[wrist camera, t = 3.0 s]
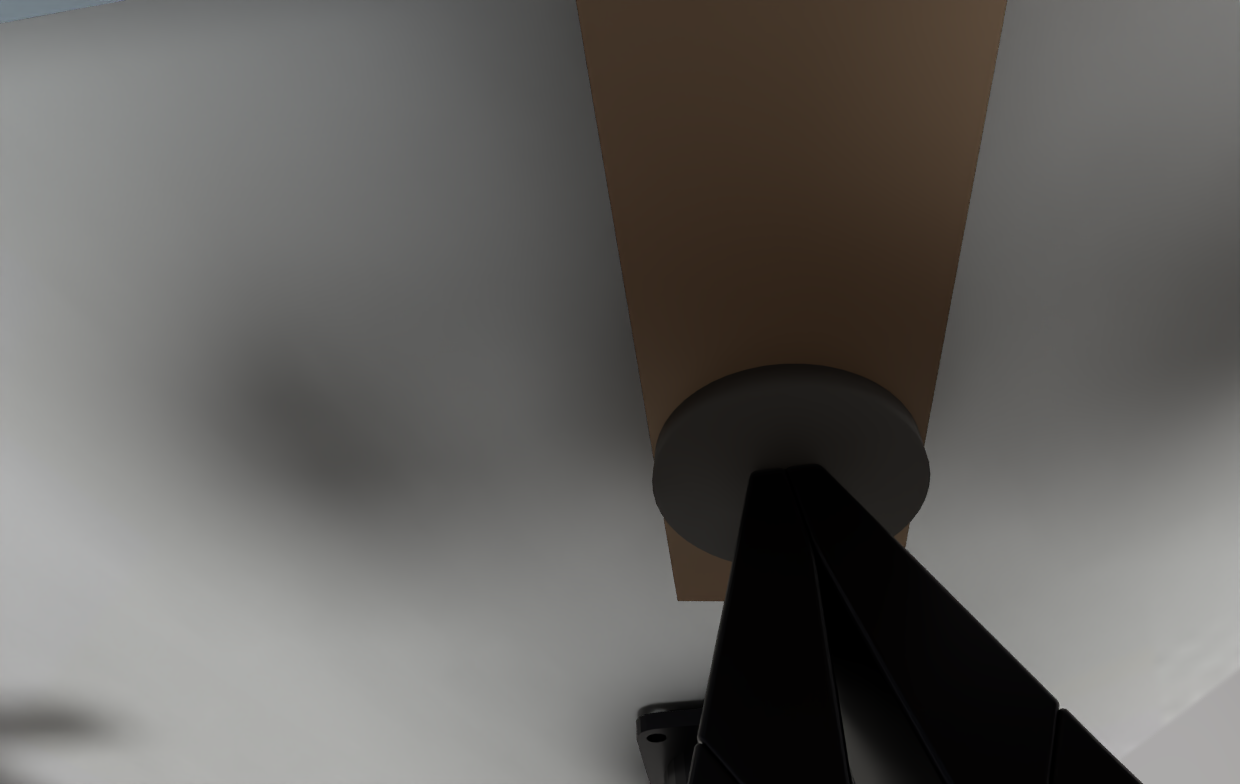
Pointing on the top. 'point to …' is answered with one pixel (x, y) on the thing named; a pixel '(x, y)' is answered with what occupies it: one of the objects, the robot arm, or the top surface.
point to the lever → (787, 239)
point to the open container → (42, 7)
